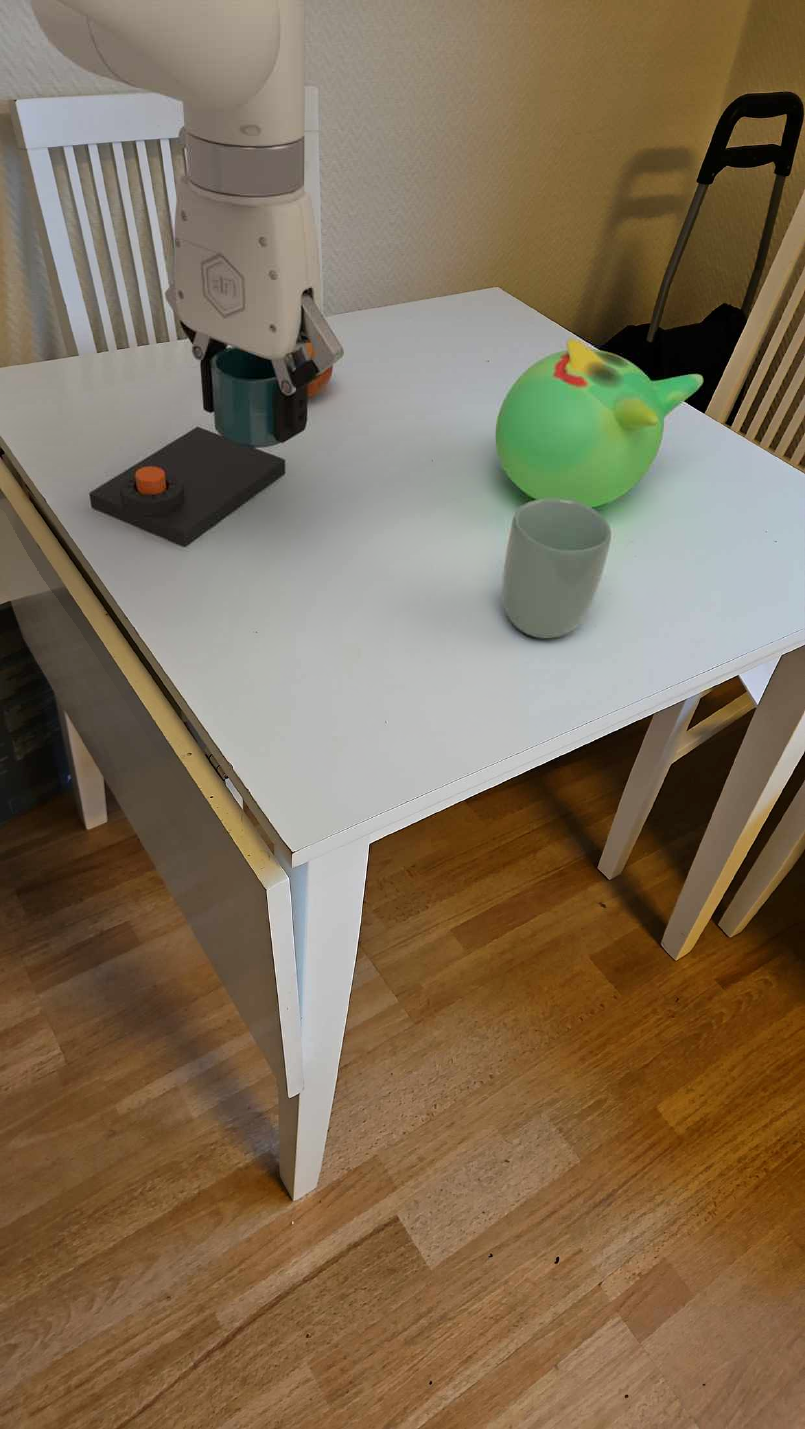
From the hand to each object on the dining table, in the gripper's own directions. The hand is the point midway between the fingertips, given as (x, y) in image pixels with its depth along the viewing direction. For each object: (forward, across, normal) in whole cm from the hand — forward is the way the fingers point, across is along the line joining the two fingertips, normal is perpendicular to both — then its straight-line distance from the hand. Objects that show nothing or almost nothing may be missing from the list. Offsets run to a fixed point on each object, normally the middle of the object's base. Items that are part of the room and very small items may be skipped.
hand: (254, 418), depth 74 cm
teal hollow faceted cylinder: (+1, 0, 0) cm, 1 cm away
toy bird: (+15, +16, +31) cm, 38 cm away
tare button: (+12, -13, +1) cm, 18 cm away
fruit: (+15, -18, +29) cm, 37 cm away
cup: (+15, +23, +10) cm, 29 cm away
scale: (+15, -14, +6) cm, 21 cm away
